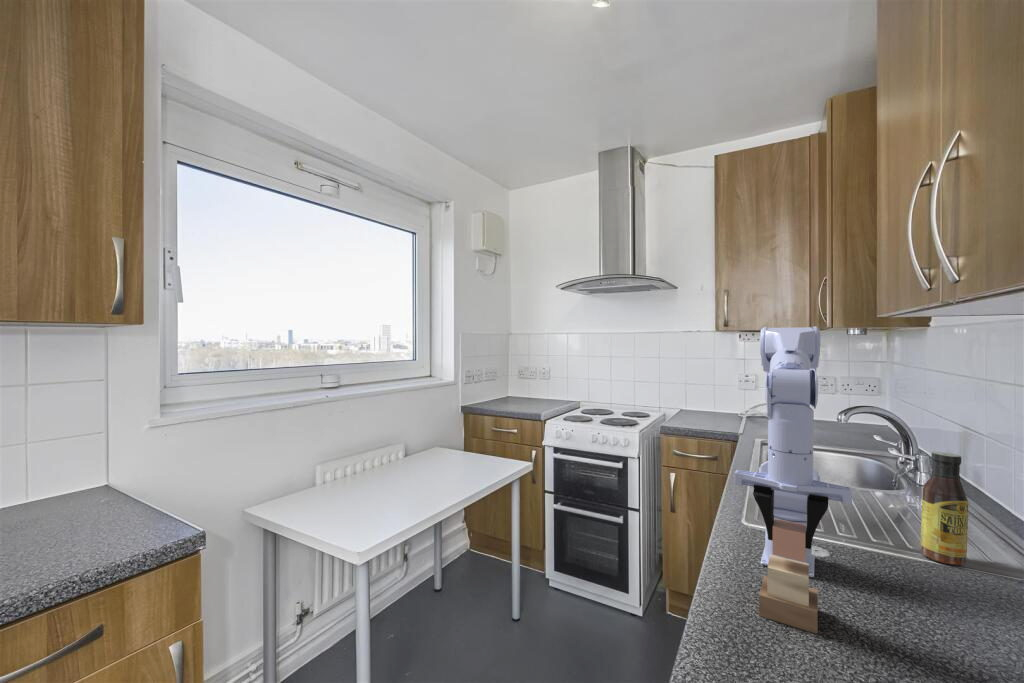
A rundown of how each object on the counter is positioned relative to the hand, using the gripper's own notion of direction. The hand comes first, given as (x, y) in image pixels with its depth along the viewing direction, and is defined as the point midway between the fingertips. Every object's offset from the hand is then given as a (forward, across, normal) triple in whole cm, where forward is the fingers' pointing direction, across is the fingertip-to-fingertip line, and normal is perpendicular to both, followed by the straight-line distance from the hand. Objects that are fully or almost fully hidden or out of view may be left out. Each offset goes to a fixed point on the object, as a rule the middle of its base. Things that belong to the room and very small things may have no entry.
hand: (789, 542), depth 65 cm
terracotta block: (+2, 0, 0) cm, 2 cm away
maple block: (+7, 0, 0) cm, 7 cm away
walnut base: (+10, 0, 0) cm, 10 cm away
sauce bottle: (+11, +23, +38) cm, 46 cm away
